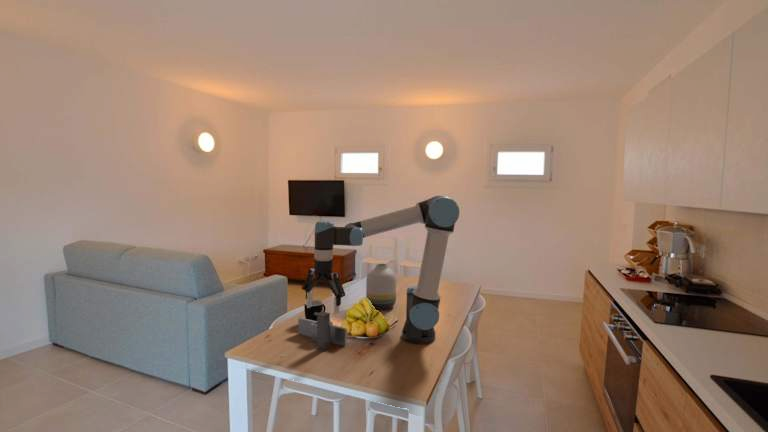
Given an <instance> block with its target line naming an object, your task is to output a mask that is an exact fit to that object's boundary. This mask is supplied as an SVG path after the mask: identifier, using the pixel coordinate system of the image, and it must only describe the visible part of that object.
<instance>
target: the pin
mask: <svg viewBox="0 0 768 432" xmlns="http://www.w3.org/2000/svg"><path fill="white" fill-rule="evenodd" d="M330 317H331V315H330V312H326V311H325V312H321V313H319V314H317V342H316V350H318V351H321V352H325V351H327V350H329V349H330V342H329V331H330V322H331V320H330V319H331V318H330Z"/></svg>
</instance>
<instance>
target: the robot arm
mask: <svg viewBox="0 0 768 432" xmlns="http://www.w3.org/2000/svg"><path fill="white" fill-rule="evenodd" d="M459 217H460V208H459V205H458V204H457V202H456V201H455V199H453V198H451V197H450V196H446V195H445V196H443V195H435V196H433V197H430V198H428V199H424V200H422V201H419V202H417V203H416V204H415V205H413V206H410V207H406V208H402V209H400V210H395V211H391V212H389V213H384V214H381V215H378V216H373V217H369V218H367V219H363V220H360V221H356V222H349V223H347V224H346V225H345V226H335V223H334V222H333V221H328V220H320V221H316V222H315V225H314V250H313V251H314V255H313V257H314V261H313V262H314V263H313V265H314V266H313V268H310V269H308V271H307V272H308V273H307V275H306V277H305V279H304V283H303V284H302V286H301V289H302V291H305V299H306V302H307V308H310V307H312V300H314V299H313V297H314V296H313V293H314V292H313V291H312V290H313V288H314V287H315V286H316V285H317V284H318V282H319V283H325V284H326V285H327V286H328V287H329V289H330V290H331V292H332V294H333V295H334V298H333V314H334V315H336V314H339V313H340V306H341V304H342V298H344V297H346V292H345V290H344V287H343V284H342V281H341V279H340V273H339V272H333V268H334V260H333V257H334V246H348V247H349V246H352V247H356V246H357V247H358V246H359V247H360V246H361V247H362V245H363V243H364V239H365V238H367V237H371V236H375V235H378V234H381V233H386V232H389V231H392V230H393V231H394V230H397V229H400V228H405V227H407V226H411V225H415V224H422V225H424V228H425V229H426V231H427V233H426V240H425V245H424V249H423V254H422V260H421V265H420V270H419V275H418V276H419V277H418V281H417V284H416V285H413V286H412V285H411V286H409V287H407V288H406V292H405V294H406V305H405V306H406V309H405V310H406V311H405V312H406V313H405V319H406V320H405V321H404V325H403V327H402V330H401V338H402V340H404V341H406V342H407V343H411V344H417V345H419V344H420V345H422V344H429V343H432V342H433V341H435V340H436V331H435V328H434V327H436V325H437V324H438V322H439V321H440V311H439V307H440V303H441V295H440V294H439V287H440V283H441V282H440V281H441V278H442V271H443V266H444V261H445V256H446V251H447V245H448V242H449V241H448V240H449V236H450V235H452V234H453V233H454V230H455V225H456V223H457V221H458V219H459ZM313 277H314V278H313Z"/></svg>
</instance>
